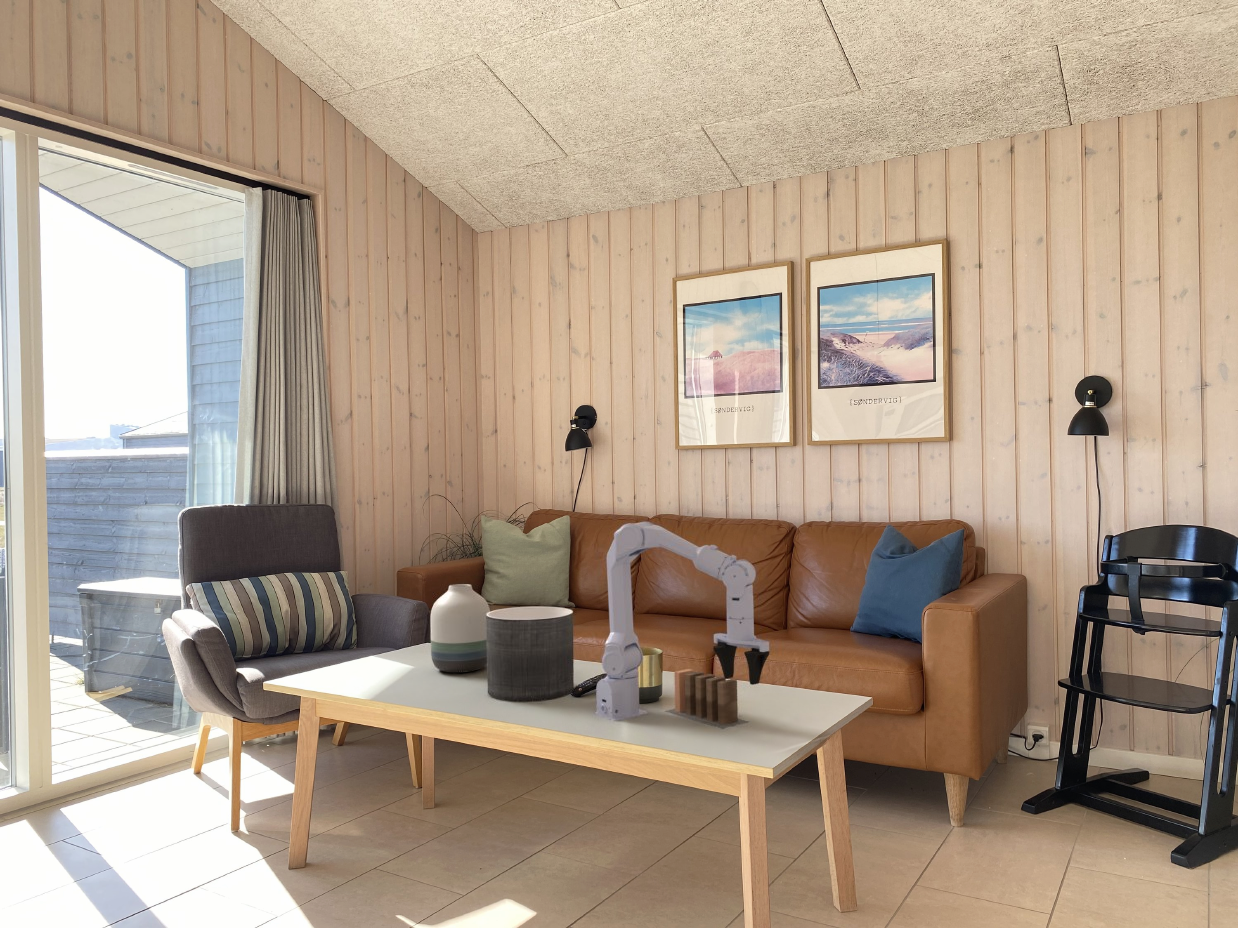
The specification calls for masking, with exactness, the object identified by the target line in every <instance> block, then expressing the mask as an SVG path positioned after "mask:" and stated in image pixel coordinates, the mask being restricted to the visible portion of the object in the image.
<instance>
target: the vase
mask: <svg viewBox="0 0 1238 928" xmlns="http://www.w3.org/2000/svg"><path fill="white" fill-rule="evenodd" d="M488 612H491V610H490V606H489V604H488V602H487V600H486V599H485V598H484V597H483V596H482V595H480V594H479V593H477V592H476V591H474V590H473V586H472V584H467V583H466V584H464V583H462V584H460V583H459V584H450V585H449V586H448V590H447V591H445V593H443V594H442V595H441V596H440V597H439V598H438V599H436V601H435V602H434V603H433V606H432V608H431V611H430V655H431V660H432V663H433V666H434V667H435V668H436V669H438V670H439V671H442V672H447V673H468V672H473V671H477V670H478V671H479V670H480V669H484V667H487V641H486V614H487V613H488Z"/></svg>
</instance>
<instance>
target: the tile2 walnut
mask: <svg viewBox="0 0 1238 928" xmlns="http://www.w3.org/2000/svg"><path fill="white" fill-rule="evenodd" d="M725 680H727V679H725V678H724V676H716V677H715V678H711V679H706V694H707V721H710V722H714V721H718V687H717V682H720V681H725Z"/></svg>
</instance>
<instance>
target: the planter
mask: <svg viewBox="0 0 1238 928" xmlns="http://www.w3.org/2000/svg"><path fill="white" fill-rule="evenodd" d="M486 641H487V664H486V670H487V673H486V676H487V695H489V696H490V697H492V698H494V699H496V700H501V701H507V702H522V703H523V702H524V703H525V702H542V701H543V702H544V701H549V700H555V699H558V698H562V697H565V696H568V695H570V694H571V693H572V692H573V691H574V690H575V684H574V683H575V682H574V681H575V680H574V678H575V677H574V675H575V674H574V669H575V667H574V664H575V663H574V662H575V661H574V611H573V610H572V609H570V608H565V607H557V606H520V607H519V606H518V607H507V608H501V609H500V608H499V609H495V610H492V611H491V610H490V612H488V613H487V614H486ZM573 689H574V690H573ZM572 690H573V691H572ZM571 691H572V692H571Z"/></svg>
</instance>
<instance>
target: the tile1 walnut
mask: <svg viewBox="0 0 1238 928" xmlns="http://www.w3.org/2000/svg"><path fill="white" fill-rule="evenodd" d="M717 687H718V724H721V725H727V724H731V723H734V722H738V719H739V717H738V714H739V713H738V710H739V709H738V708H739V707H738V680H737V679H734V678H733V679H732V678H729V679H726V680H725V681H720V682H717Z"/></svg>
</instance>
